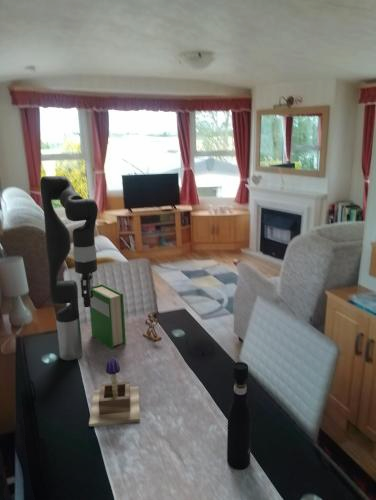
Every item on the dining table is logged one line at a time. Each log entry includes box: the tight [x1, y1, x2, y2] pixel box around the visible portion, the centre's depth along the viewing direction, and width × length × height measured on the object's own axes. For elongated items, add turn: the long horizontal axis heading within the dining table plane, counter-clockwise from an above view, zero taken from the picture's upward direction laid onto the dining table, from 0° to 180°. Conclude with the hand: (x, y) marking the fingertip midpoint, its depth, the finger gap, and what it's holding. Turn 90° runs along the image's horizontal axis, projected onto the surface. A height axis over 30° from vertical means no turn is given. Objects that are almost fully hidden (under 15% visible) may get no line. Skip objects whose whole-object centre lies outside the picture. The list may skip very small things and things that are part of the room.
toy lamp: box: [105, 357, 121, 397], centre depth 132 cm, size 5×5×17 cm
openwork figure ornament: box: [142, 312, 162, 342], centre depth 182 cm, size 9×4×12 cm, turn 47°
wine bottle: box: [226, 361, 252, 471], centre depth 107 cm, size 6×6×30 cm
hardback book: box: [89, 283, 127, 350], centre depth 179 cm, size 18×7×24 cm, turn 41°
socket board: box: [88, 380, 141, 427], centre depth 134 cm, size 18×16×6 cm
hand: (88, 302), depth 139 cm, fingers open, 8 cm apart
